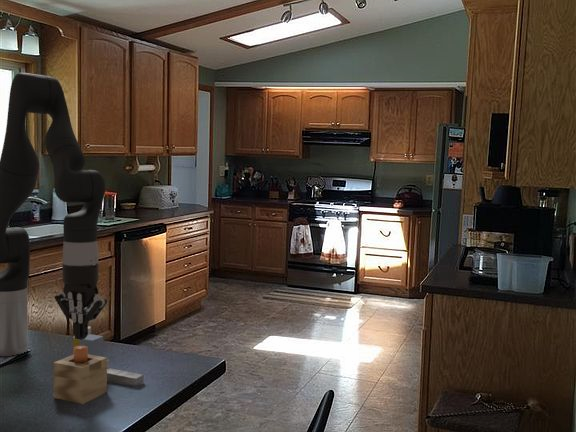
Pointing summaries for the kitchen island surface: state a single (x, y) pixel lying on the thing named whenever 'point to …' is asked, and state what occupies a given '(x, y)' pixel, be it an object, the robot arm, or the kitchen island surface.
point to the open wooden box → (80, 379)
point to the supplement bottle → (76, 341)
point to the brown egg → (80, 354)
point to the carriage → (94, 345)
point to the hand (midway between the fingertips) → (80, 338)
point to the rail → (124, 377)
